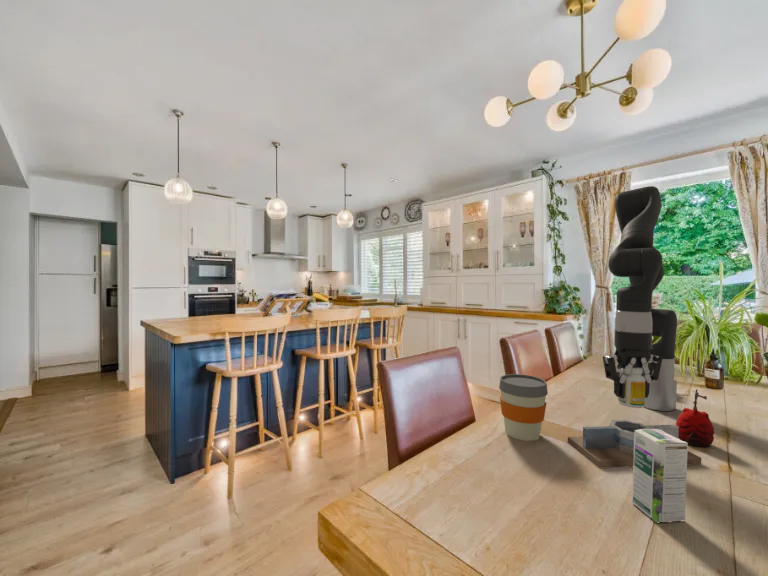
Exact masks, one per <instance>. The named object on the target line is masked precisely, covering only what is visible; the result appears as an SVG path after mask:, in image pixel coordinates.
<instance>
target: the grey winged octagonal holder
mask: <svg viewBox="0 0 768 576" xmlns="http://www.w3.org/2000/svg"><path fill="white" fill-rule="evenodd" d="M608 424H609V426H583V427H582V436H583V447H584V448H585V449H612V448H616V449H618V450H619V451H622V452H626V453H629V454H633V455H634V434H635V430H639V429H658V430H662V431H664V432H665V433H667V434H669V435H672V436H674V437H675V438H678V428H679V427H678V426H676V424H653V425H652V424H651V425H645V424H643V423H640V422H636V421H632V420H627V419H611V421H610V422H609V423H608ZM678 439H679V438H678Z"/></svg>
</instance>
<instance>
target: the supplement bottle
mask: <svg viewBox="0 0 768 576" xmlns="http://www.w3.org/2000/svg"><path fill="white" fill-rule="evenodd" d="M621 370H624V369H621ZM642 373H643V368H632V369H631V371H630V374H629V375H628V376H627V377H626V379H625V381H624V384H625V397H624V398H619V397H617V401H618V403H619V404H620V405H622V406H624V407H627V408H631V409H632V408H633V409H643V408H645V407H644V405H645V382H646V380H645V377H644V376H642V375H641V374H642ZM620 375H621V374H620Z"/></svg>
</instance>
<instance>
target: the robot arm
mask: <svg viewBox="0 0 768 576" xmlns="http://www.w3.org/2000/svg"><path fill="white" fill-rule="evenodd" d="M614 209H615V214H616V217H617V218H616V219H617V223H618V227H619V230H620V241H619V243H618V245H617V246H616V247H615V248H614V249H613V250H612V253H610V255H609V259H608V270H609V272H610V274H612V275H614V276H616V277H618V278H628V279H629V284H630V285H629V286H624V287H619V288H618V289H617V291H616V304H615V305H616V306H615V307H616V311H615V315H614V316H615V317H614V337H613V338H614V343H613V344H614V347H615V352H614V353H613V354H612V355H608V354H604V355H603V356H602V360H603V361H602V362H603V367H604V374H605V378H606V379H608V380H612V381H613V393H614V395H615V396H616V397H617V398H618V397H619V398H624V397H625V384H624V381H625V379H626V377H627V376H628V375H629V374H630V371H631V369H632V368H643V373H642V374H641V375H642V376H644V377H645V380H646V382H645V405H644V407H643V408H647V409H648V410H649V409H650V410H653V411H654V410H655V411H660V412H672V411H673V410H676V409H677V393H678V392H677V391H678V390H677V385H678V381H677V380H675V358H676V357H675V356H676V355H675V353H676V341H677V339H676V338H677V329H678V316H677V314H676V312H675V311H674V310H671V309H664V308H663V309H661V308H658V309H657V308H652V307H653V306H652V304H653V302H652V301H653V300H652V299H653V292H654V291H655V290H656V288H658V286H659V285H660V283H661V282H662V280H663V277H664V275H665V272H664V271H665V270H664V263H663V260H664V258H663V256H662V253H661V252H660V250H658V249H657V248H656V247H655V246H654V235H655V234H654V232H655V228H656V226H657V223H658V222H659V221H658V220H659V219H660V218H659V217H660V214H661V210H662V197H661V193H660V191H659V189H658V187H656V186H654V185H653V186H652V185H651V186H644V187H638V188H634V189H630V190H627V191H626V190H625V191H622V192H619V193H617V194H616V195H615V197H614ZM653 337H660V341H658V342H656V343H653ZM621 368H623V369H624V370H622V369H621ZM620 374H621V375H620Z"/></svg>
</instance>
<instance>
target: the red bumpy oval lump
mask: <svg viewBox="0 0 768 576" xmlns="http://www.w3.org/2000/svg"><path fill="white" fill-rule="evenodd" d="M692 391H693V393H694V401H693V408H692V409H690V408H689V407H684V408H683V409H682V412H681V413H680V414H679V416H678V417H677V418H676V422H675V425H676V426H678V427H679V428H678V439H680V440H682V441H685V442H687V443H688V445H690V446H694V447H699V448H708V447H710V446H712V444H713V443H714V440H715V437H714V435H715V428H714V425H713V423H712V421H711V419H710V417H709V413H707V412H706V411H700V410H698V407H697V404H698V398H702V399H703V400H706V401H707V400H708V398H707V397H708V396H707V395H701V394H700V393H699V392H698V391H699V390H698V389H695V390H694V389H693V390H692Z"/></svg>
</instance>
